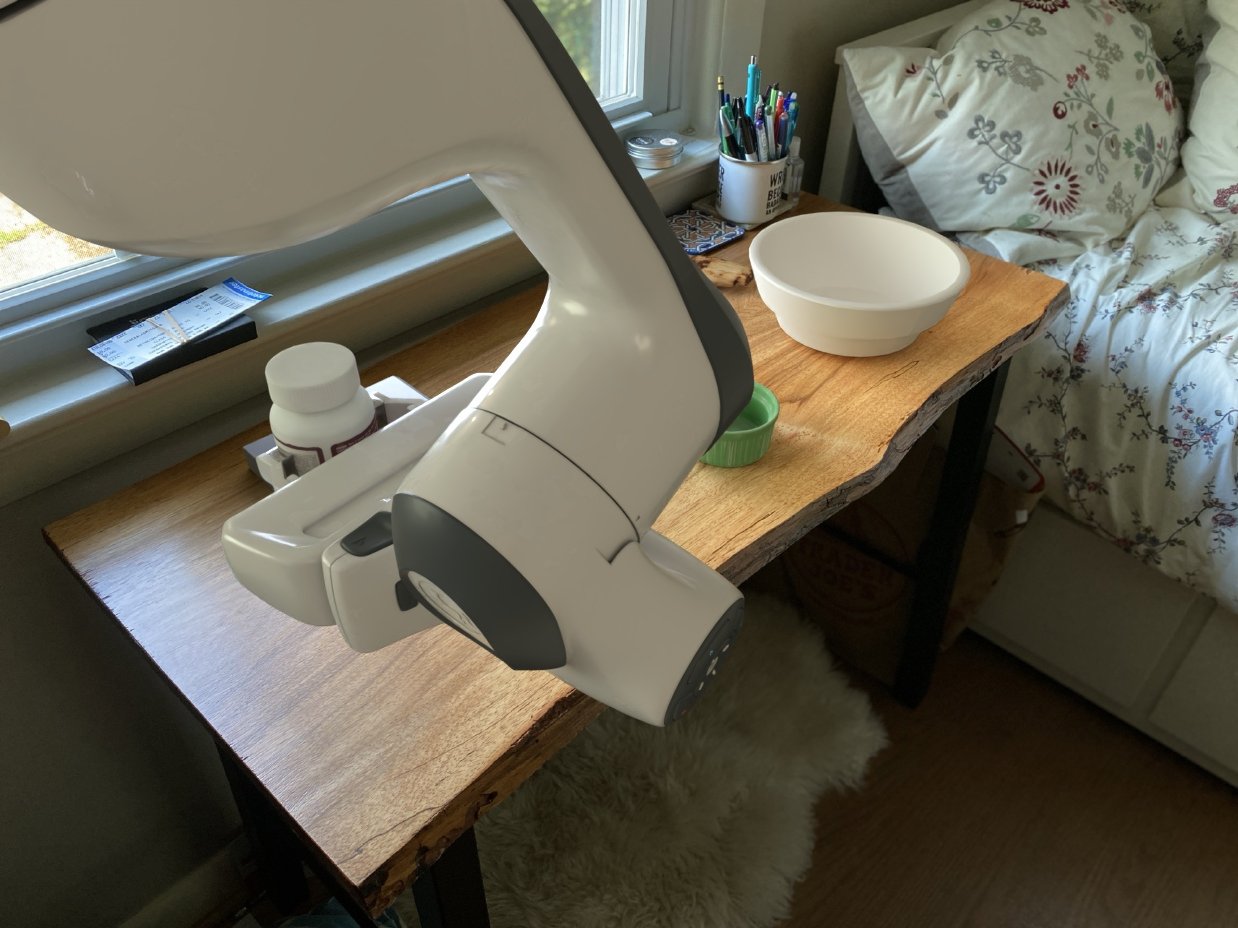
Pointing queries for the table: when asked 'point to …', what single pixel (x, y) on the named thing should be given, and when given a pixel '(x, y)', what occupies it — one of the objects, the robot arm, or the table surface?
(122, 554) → the table surface
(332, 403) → the pill bottle
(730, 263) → the lashed bone hook
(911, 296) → the bowl
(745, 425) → the ramekin
